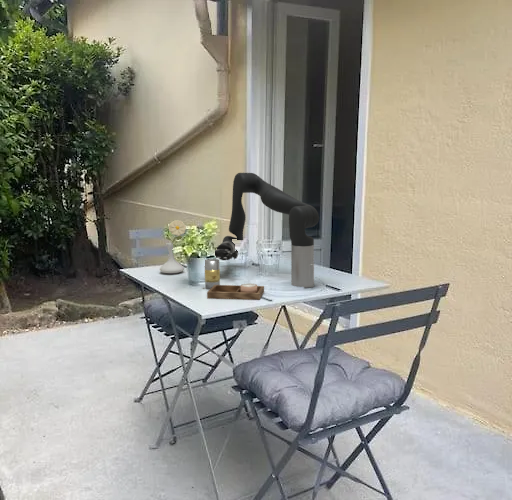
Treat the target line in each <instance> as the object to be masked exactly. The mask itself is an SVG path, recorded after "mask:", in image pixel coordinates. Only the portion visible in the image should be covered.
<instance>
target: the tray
mask: <svg viewBox="0 0 512 500" xmlns="http://www.w3.org/2000/svg"><path fill="white" fill-rule="evenodd" d="M264 293H265V286H264V285H257V293H242V292H241V285H231V284H230V285H229V284H227V285H226V284H220V285H214V286H213V287H212V288H211V289H210V290H209V289H208V291H207V292H206V297H207V299H208V300H210V299H211V300H213V299H214V300H215V299H216V300H243V301H245V300H247V301H260V300H261V298H262V296H263V294H264Z"/></svg>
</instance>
